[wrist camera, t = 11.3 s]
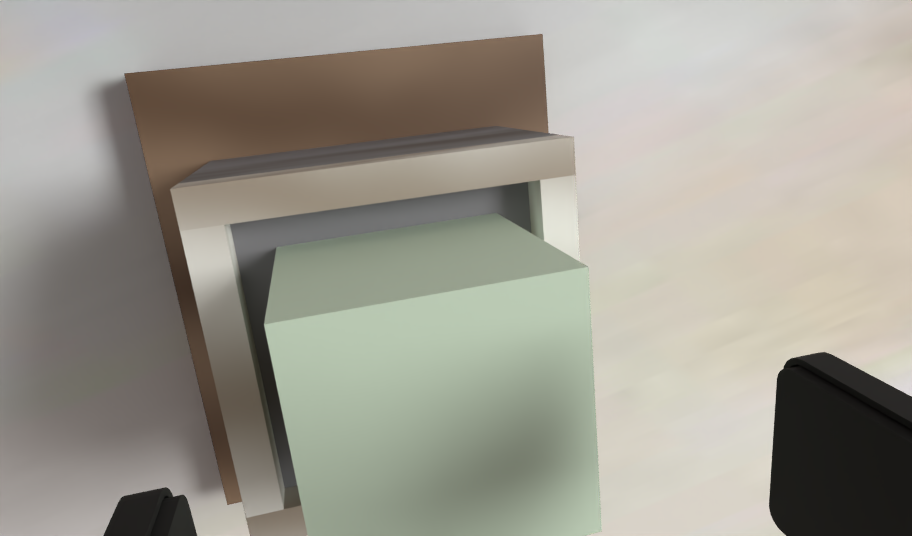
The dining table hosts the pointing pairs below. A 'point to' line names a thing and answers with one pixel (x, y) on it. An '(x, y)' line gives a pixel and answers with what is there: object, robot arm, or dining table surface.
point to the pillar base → (329, 199)
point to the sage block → (437, 382)
